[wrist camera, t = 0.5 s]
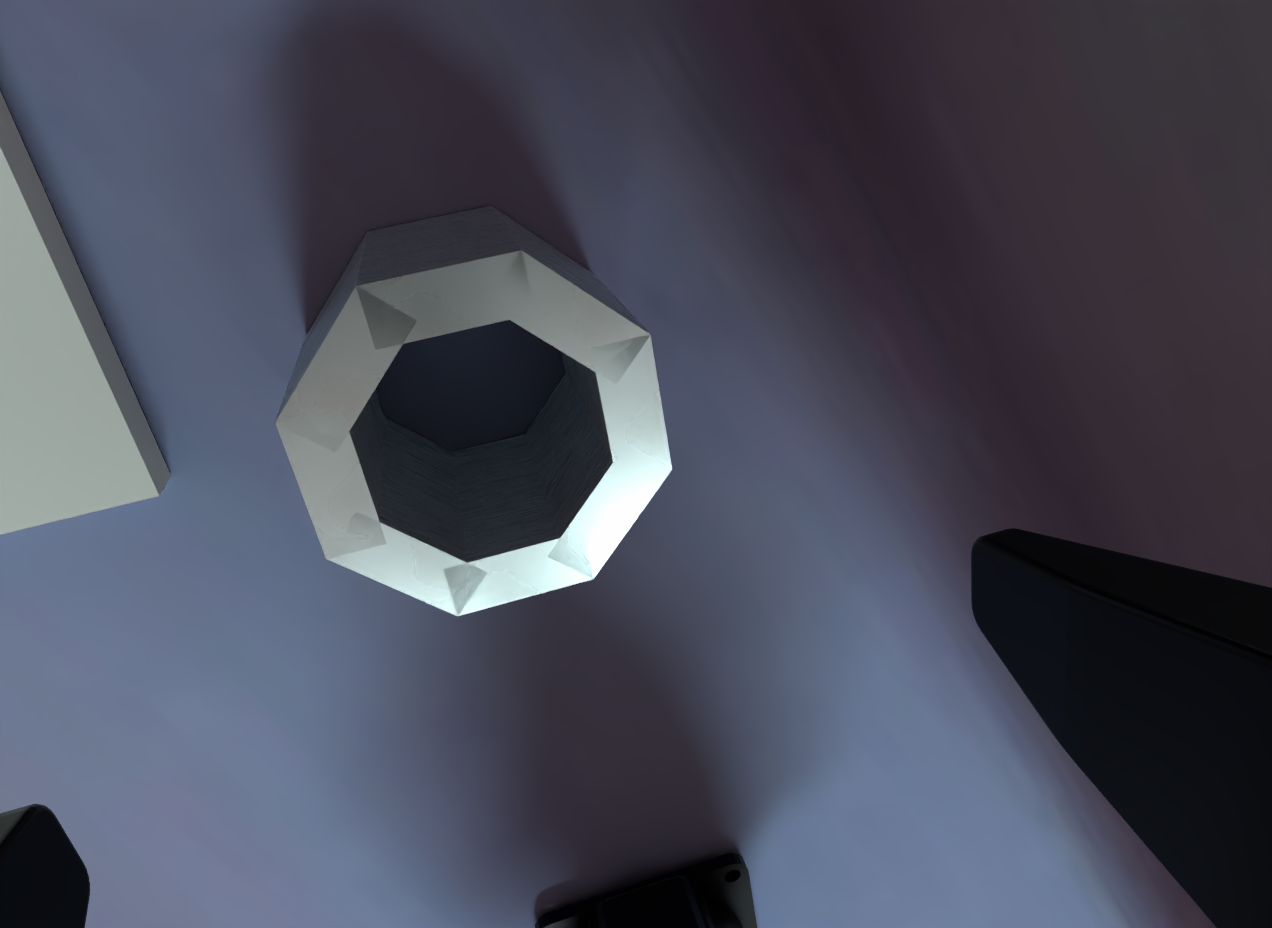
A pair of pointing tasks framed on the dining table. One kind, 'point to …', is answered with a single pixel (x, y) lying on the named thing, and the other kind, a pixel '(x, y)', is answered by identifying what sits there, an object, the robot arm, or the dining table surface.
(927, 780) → the dining table surface
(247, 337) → the dining table surface
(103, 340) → the post fixture
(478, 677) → the dining table surface
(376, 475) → the grey hollow octagonal cylinder
